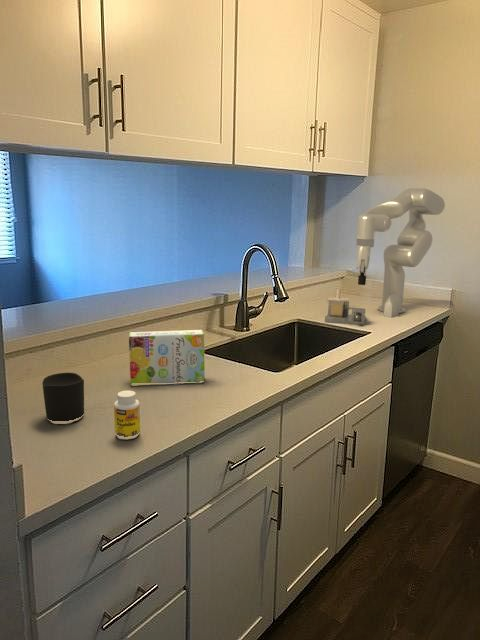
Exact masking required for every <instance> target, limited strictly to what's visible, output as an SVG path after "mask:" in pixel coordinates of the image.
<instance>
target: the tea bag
mask: <svg viewBox="0 0 480 640" xmlns="http://www.w3.org/2000/svg"><path fill="white" fill-rule="evenodd" d="M398 312H399V301H398V298H397V294H393V295H390V296H389V297H388V299H387V301H386V303H385V308H384V312H383V317H384V318H390V319H392V318H395V317H398V316H399V313H398Z"/></svg>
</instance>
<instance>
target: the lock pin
mask: <svg viewBox="0 0 480 640" xmlns="http://www.w3.org/2000/svg"><path fill="white" fill-rule="evenodd" d="M361 316H362V312H355V318H354V320H355V321H360V318H361Z"/></svg>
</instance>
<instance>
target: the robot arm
mask: <svg viewBox="0 0 480 640" xmlns="http://www.w3.org/2000/svg"><path fill="white" fill-rule="evenodd" d="M445 205H446V204H445V200H444V198H443V197H442V196H440V195H439V194H437V193H436V192H434V191H432V190H430V189H428V188H420V187H419V188H407V189H405V190H403V191H401V193H399V194H398V195H397V196H395V197H394V198H393V199H391V200H389V201H386V202H383V203H381V204H378V205H376V206H373V207H371V208H369V209H368V210H367V211H365V212H364V213H363V214H359V216H358V219H357V230H356V231H357V232H356V242H355V243H356V244H355V247H357V255H356V266H355V268H356V270H358V269H359V274H358V279H357V280H358V281H357V285H360V286H366V284H367V283H366V281H367V270H368V268H369V265H370V260H371V258H370V256H371V251H372V250H371V248H374V246H375V235H376V233H377V232H379V233H383V232H387V231H388V230H390V229H391V225H392V219H397V218H401V217H402V216H403V215H405V214H406V213H407V212H408V214H409V215H408V216H409V218H408V219H409V220H408V221H407V223H406V225H405V227H404V228H403V230H401V232H400V234H398V235H399V236H398V237H397V241H396V242H397V244H390V245H388V246H386V248H385V249H384V250H383V262H384V263H383V264H384V266H383V267H384V273H383V285H382V296H381V299H382V300H381V306H378V308H377V309H378V311H380V312H382V313H384V308H385V303H386V301H387V299H388V297H389V296H390V295H393V294H397V298H398V301H399V312H398V314H403V313H405V312H406V308H404V307H403V301H404V290H405V278H406V274H405V270H404V268H403V267H405V268H406V267H408V268H415V267H417V266H419V264H420V263H421V262H422V260H423V259H424V258H425V256H426V255H427V253H428V251H429V250H430V248H431V246H432V243H433V235H432V233H431V232H430V231H429V230H426V221H425V219H424V216H423V215H427V216H428V215H429V216H439V215H440V214H442V213H443V211H444V210H445ZM375 232H376V233H375Z"/></svg>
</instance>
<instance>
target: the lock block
mask: <svg viewBox="0 0 480 640" xmlns="http://www.w3.org/2000/svg"><path fill="white" fill-rule="evenodd" d="M342 316H344V301H334V300H333V302H332V303H331V317H342Z"/></svg>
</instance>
